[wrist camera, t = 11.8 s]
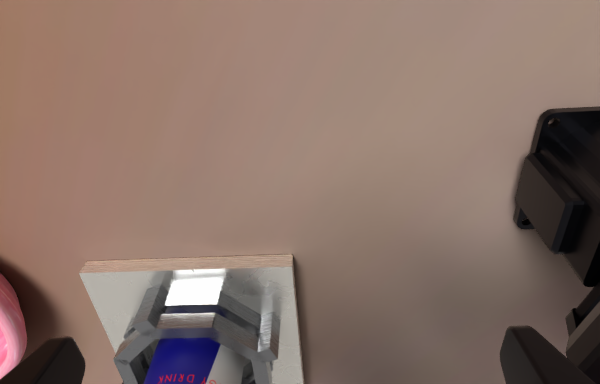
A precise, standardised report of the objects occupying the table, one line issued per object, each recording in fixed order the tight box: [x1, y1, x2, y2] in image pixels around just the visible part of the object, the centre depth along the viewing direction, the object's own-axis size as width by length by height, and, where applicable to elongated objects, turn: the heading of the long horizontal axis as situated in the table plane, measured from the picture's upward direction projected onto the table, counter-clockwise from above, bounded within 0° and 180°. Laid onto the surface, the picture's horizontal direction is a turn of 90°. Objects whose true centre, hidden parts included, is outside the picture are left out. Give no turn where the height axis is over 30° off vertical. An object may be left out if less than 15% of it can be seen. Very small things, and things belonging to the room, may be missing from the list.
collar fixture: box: [79, 254, 304, 384], centre depth 27 cm, size 12×12×4 cm
